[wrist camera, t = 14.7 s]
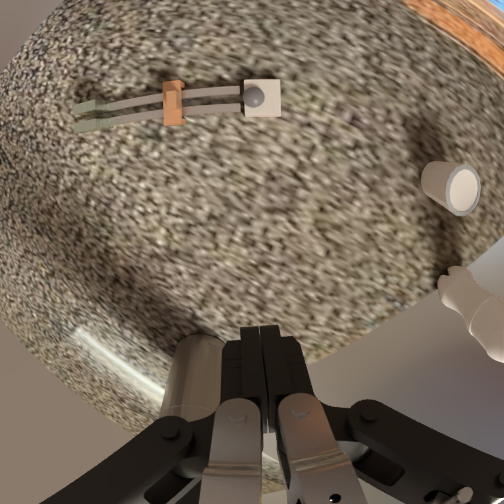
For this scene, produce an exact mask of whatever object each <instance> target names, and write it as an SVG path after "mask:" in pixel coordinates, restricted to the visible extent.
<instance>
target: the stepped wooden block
mask: <svg viewBox="0 0 504 504" xmlns="http://www.w3.org/2000/svg"><path fill="white" fill-rule="evenodd" d="M181 88H185V83H184V82H182V81H181V80H174V81H167V82H163V111H164V126H174V125H183V124H186V119H182V95H181Z"/></svg>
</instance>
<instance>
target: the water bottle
mask: <svg viewBox="0 0 504 504" xmlns="http://www.w3.org/2000/svg"><path fill="white" fill-rule="evenodd" d="M448 274H449V276H446V275H441V276H440V277H439V279H438V290H439V291H438V292H439V297H440V299H441V301H442V302H443V304H444V305H446V306H447V307H449V308H452V309H454V310H455V311H457V312H459V313H460V314H461V315H462V316H463V318H464V320H465V322H466V326H467V329H468V331H469V332H470V333H471V335H473V336H474V337H475V338H476V339H477V340H478V341H479V343H480V344H481V345H482V346H483V347H484V348H485V350H486V351H487V354H488V355H489V356H490V357H491V358H493V359H494V360H496V361H500V362H503V363H504V301H503V300H502V299H501V298H500V296H497V295H494V294H492V293H490V292H488V291H486V290H484V289H483V288H482V287H480V286H479V285H478V284H477V283H476V281H475V280H474V279H473V276H472V274H471V272H470V271H469V270H467V269H466V268H464V267H461V266H451V267H449V268H448Z"/></svg>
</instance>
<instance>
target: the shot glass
mask: <svg viewBox="0 0 504 504" xmlns="http://www.w3.org/2000/svg"><path fill="white" fill-rule="evenodd" d="M421 185H422V189H423V191H424V193H425V194H426V195H427V196H429V197H430V198H432V199H433V200H435V201H436V202H438V203H439V204H441V205H442V206H444V207H445V208H446V209H448V210H449V211H451V212H452V213H454V214H455V215H456V216H465V215H467V214H469V213H470V212H471V211H472V210H473V209H474V208H475V207H476V205H477V202H478V200H479V197H480V190H481V186H480V178H479V176H478V174H477V172H476V170H475V169H474V168H472V167H471V166H470V165H465V164H458V163H450V162H441V161H432V162H430V163H428V164H427V165H426V166H425V167H424V170H423V172H422V174H421Z"/></svg>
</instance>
